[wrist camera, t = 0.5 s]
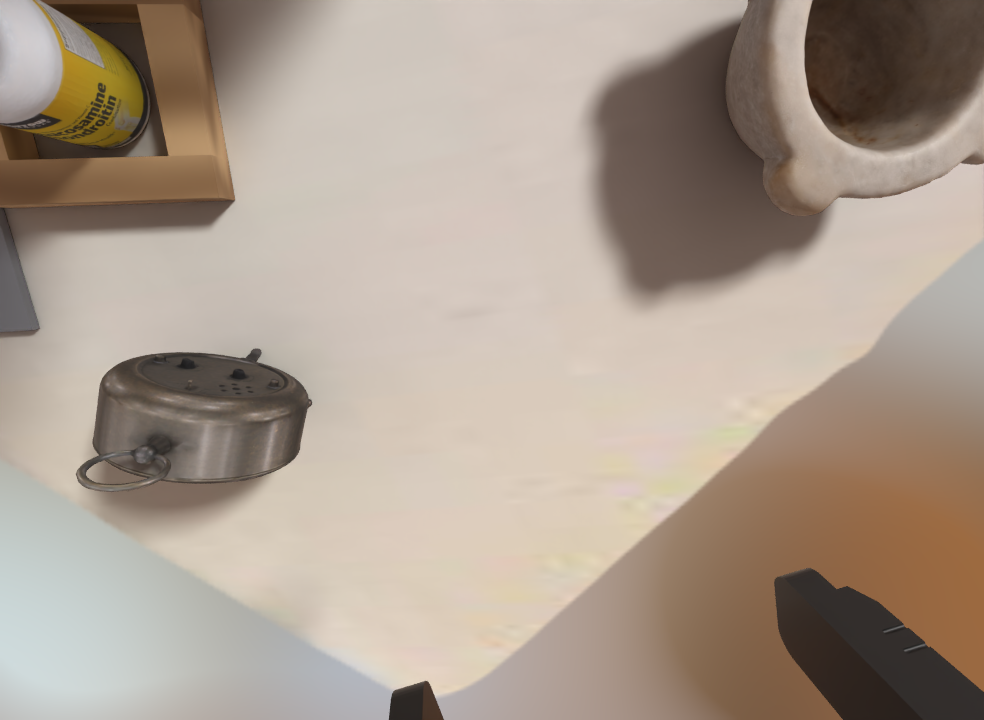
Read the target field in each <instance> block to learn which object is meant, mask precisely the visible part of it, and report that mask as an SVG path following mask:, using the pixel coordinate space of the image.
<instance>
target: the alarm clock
mask: <svg viewBox="0 0 984 720" xmlns="http://www.w3.org/2000/svg"><path fill="white" fill-rule="evenodd" d="M260 355H261V350H260V349H253V350H252V351H251V353H250V354H249V355H248V356H247V357H246V358H236V357H230V356H224V355H216V354H206V353H182V352H176V353H160V354H151V355H145V356H140V357H136V358H132V359H129V360H126V361H124V362H122V363H119V364H118V365H116V366H114V367H113V368H112V369H111V370H109V371H108V372H107V373H106V374H105V376H104V377H103V378H102V381H101V383H100V388H99V396H98V405H97V413H96V422H95V430H94V437H93V446H94V449H95V450H96V452H97V453H98V454H99V456H97V457H95V458H93V459H91V460H89V461H87V462H85V463H84V464H83V465H82V466H81V467H80V468H79V469H78V470H77V473H76V476H77V479H78V481H79V483H80V484H81V485H82V486H84V487H86V488H89V489H93V490H97V491H106V492H114V491H126V490H134V489H138V488H142V487H146V486H149V485H151V484H153V483H156V482H158V481H160V480H161V481H169V482H178V483H226V482H236V481H244V480H248V479H253V478H256V477H260V476H263V475H266V474H269V473H271V472H274V471H276V470H278V469H281V468H282V467H284V466H286V465H287V464H288V463H290V462H291V461H292V460H293V459H295V457H296V456H297V455H298V453H299V450H300V442H301V437H302V433H303V428H304V423H305V418H306V413H307V408H308V407H309V406H311V405H312V401H311V400H310V399H308V394H307V392H306V390H305V388H304V387H303V386H302V384H301V383H300V382H299V381H297V380H296V379H295V378H294V377H292V376H290V375H289V374H287V373H285V372H283V371H281V370H279V369H276V368H274V367H271V366H268V365H265V364H261V363H258V362H256V361H257V359H258V358H259V357H260ZM103 460H105V461H107V462H108V463H110V464H111V465H113V466H115V467H117V468H118V469H120V470H123V471H125V472H128V473H131V474H134V475H137V476H142V477H146V478H147V479H144V480H141V481H138V482H132V483H126V484H101V483H96V482H93V481H92V480H90V479H89V478H87V476H86V471H87V470H88V469H89V468H90V467H91V466H93V465H94V464H96V463H98V462H101V461H103Z"/></svg>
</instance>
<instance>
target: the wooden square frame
mask: <svg viewBox="0 0 984 720" xmlns="http://www.w3.org/2000/svg"><path fill="white" fill-rule="evenodd" d="M40 1H42V2H44V3H45V4H47V5H49V6H50V7H52V8H54V9H55V10H57V11H59V12H60V13H62V14H64V15H65V16H67V17H69V18H71V19H72V20H74V21H75V22H77V23H141V26H142V31H143V36H144V40H145V45H146V50H147V55H148V60H149V64H150V69H151V74H152V79H153V84H154V88H155V93H156V98H157V103H158V107H159V112H160V117H161V122H162V127H163V131H164V136H165V141H166V146H167V151H168V155H169V156H149V157H111V158H73V159H40V158H39V154H38V151H37V147H36V143H35V140H34V136H33V133H31V132H27V131H23V130H19V129H16V128H11V127H8V126H4V125H0V207H3V208H27V207H55V206H84V205H112V204H141V203H169V202H198V201H226V200H235V196H234V191H233V185H232V179H231V174H230V168H229V162H228V157H227V151H226V146H225V140H224V134H223V129H222V123H221V117H220V112H219V106H218V101H217V95H216V89H215V84H214V78H213V73H212V67H211V61H210V56H209V50H208V44H207V39H206V33H205V28H204V22H203V16H202V11H201V5H200V0H40Z"/></svg>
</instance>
